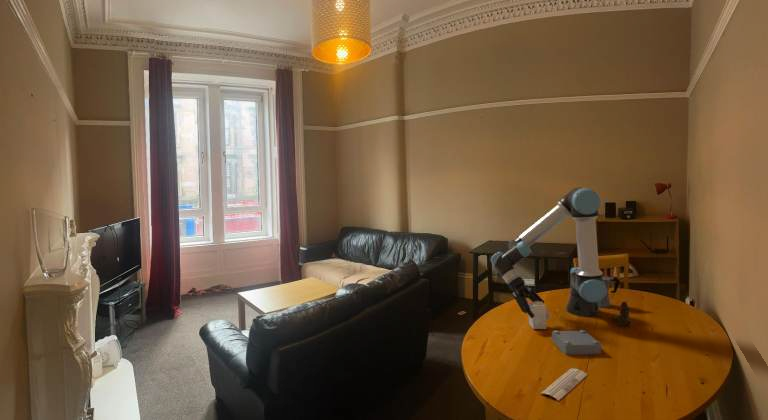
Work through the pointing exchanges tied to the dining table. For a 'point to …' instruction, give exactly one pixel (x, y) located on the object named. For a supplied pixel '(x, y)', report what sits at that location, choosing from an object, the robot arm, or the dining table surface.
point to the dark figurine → (623, 315)
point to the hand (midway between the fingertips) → (544, 320)
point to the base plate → (576, 342)
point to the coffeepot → (606, 301)
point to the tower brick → (538, 314)
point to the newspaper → (565, 383)
